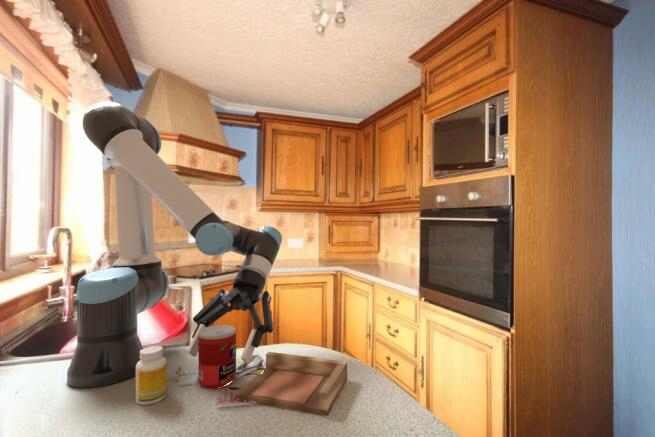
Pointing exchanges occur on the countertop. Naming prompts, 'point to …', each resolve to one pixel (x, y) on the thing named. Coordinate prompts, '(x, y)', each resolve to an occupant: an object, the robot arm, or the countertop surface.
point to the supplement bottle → (150, 376)
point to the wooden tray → (297, 383)
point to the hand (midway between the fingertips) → (217, 357)
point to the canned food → (216, 356)
